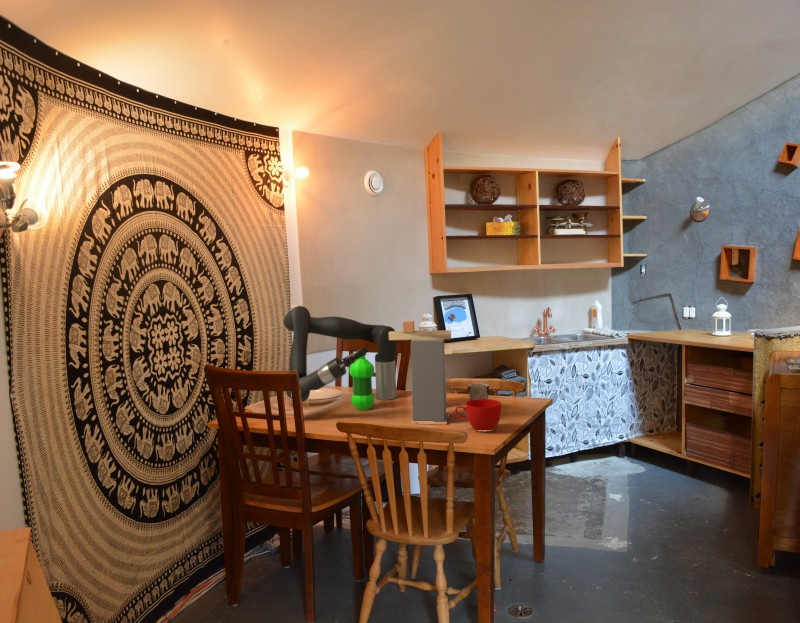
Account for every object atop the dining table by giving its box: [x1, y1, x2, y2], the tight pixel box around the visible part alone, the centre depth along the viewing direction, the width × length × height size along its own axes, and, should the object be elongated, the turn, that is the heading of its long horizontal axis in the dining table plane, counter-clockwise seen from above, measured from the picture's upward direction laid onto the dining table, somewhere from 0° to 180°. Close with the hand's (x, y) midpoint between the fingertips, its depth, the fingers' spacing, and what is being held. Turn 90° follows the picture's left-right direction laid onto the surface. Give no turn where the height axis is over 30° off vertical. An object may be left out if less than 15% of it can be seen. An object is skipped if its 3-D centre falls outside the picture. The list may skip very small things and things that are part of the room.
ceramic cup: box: [454, 398, 502, 430], centre depth 229 cm, size 13×17×10 cm
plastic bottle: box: [348, 349, 375, 411], centre depth 266 cm, size 10×10×25 cm
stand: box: [410, 339, 450, 423], centre depth 244 cm, size 14×14×32 cm
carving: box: [468, 384, 489, 401], centre depth 251 cm, size 6×8×12 cm
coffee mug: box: [467, 382, 490, 396], centre depth 262 cm, size 12×9×10 cm
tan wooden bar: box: [389, 329, 452, 341], centre depth 243 cm, size 4×24×3 cm, turn 83°
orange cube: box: [402, 320, 416, 332], centre depth 244 cm, size 4×4×4 cm
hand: (365, 350), depth 247 cm, fingers open, 8 cm apart
